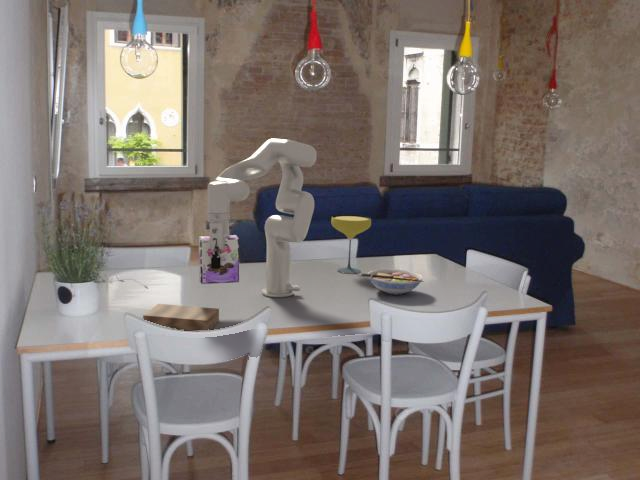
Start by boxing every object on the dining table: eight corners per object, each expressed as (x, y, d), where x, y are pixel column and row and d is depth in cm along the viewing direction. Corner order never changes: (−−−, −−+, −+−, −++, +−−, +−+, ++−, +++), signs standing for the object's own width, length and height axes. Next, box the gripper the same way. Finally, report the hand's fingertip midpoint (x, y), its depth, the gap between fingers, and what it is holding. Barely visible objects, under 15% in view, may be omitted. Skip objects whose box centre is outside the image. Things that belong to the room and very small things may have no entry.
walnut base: (218, 319, 247) (219, 308, 247) (207, 332, 234) (207, 320, 233) (158, 314, 250) (158, 303, 249) (143, 326, 237) (143, 315, 236)
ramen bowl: (427, 289, 300) (429, 270, 298) (420, 303, 278) (421, 283, 277) (370, 283, 306) (371, 264, 305) (358, 296, 285) (359, 276, 283)
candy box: (200, 284, 250) (199, 239, 246) (199, 280, 255) (198, 235, 252) (239, 282, 253) (239, 237, 250) (237, 278, 259) (236, 234, 255)
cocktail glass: (321, 269, 327) (323, 216, 322) (349, 264, 339) (351, 213, 334) (348, 277, 314) (351, 222, 309) (376, 272, 326) (379, 218, 321)
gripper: (222, 222, 240) (222, 272, 244) (235, 213, 257) (235, 260, 261) (200, 221, 241) (201, 271, 245) (215, 212, 258) (215, 259, 262)
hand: (219, 265), depth 253 cm, fingers closed on candy box, 7 cm apart
